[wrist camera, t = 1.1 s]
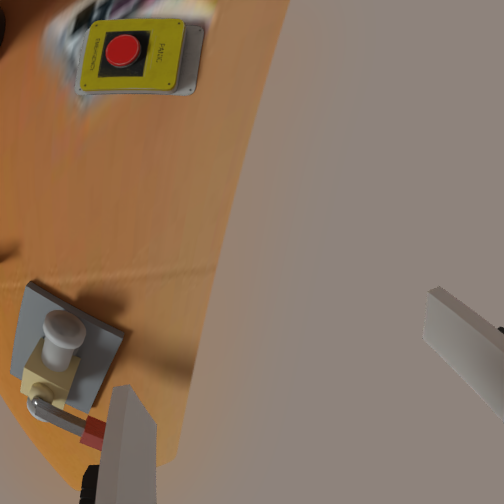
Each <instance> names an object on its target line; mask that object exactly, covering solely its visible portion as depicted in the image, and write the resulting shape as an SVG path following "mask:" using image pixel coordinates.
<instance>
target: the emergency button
mask: <svg viewBox="0 0 504 504" xmlns="http://www.w3.org/2000/svg"><path fill="white" fill-rule="evenodd" d="M203 36H204V30H203V29H202V28H201V27H199V26H194V25H185V23H184V22H183V21H182V20H180V19H165V18H138V19H114V20H101V21H96V22H94V23H93V24H92V25H91V27H90V28H89V29H88V30H87V31H86V33H85V35H84V40H83V44H82V49H81V54H80V59H79V65H78V70H77V76H76V83H75V92H76V93H77V94H78V95H99V94H160V95H181V96H186V95H190V94H192V93H193V92H194V90H195V87H196V80H197V73H198V67H199V60H200V54H201V48H202V42H203Z"/></svg>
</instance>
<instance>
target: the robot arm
mask: <svg viewBox="0 0 504 504" xmlns="http://www.w3.org/2000/svg"><path fill="white" fill-rule="evenodd" d="M4 31H5V15H4V12H3V10H2V9H1V7H0V46H1V43H2V40H3V36H4ZM423 340H424V341H425V342H427V344H429V345H430V346H431V347H432V348H433V349H434V350H435V351H436V352H437V353H438V354H439V355H440V356H441V357H442V358H443V359H444V360H445V361H446V362H447V363H448V364H449V365H450V366H451V367H452V368H453V369H454V370H455V372H456V373H457V374H458V375H460V377H462V379H463V380H464V381H465V382H466V383H467V384H468V385H469V386H470V387H471V388H472V389H473V390H474V391H475V392H476V393H477V394H478V395H479V397H480V398H481V399H482V400H483V401H484V402H485V403H486V404H487V405H488V406H489V407H490V408H491V409H492V410H493V412H494V413H495V414H496V415H497V416H498V417H499V418H500V419H501V420H502V422H503V423H504V328H503V327H499V328H498V329H496V328H495V327H494V326H493V325H491V324H490V323H489V322H487V321H486V320H485V319H483V318H482V317H481V316H480V315H478V314H477V313H476V312H474V311H473V310H472V309H470V308H469V307H468V306H466V305H465V304H463V303H462V302H461V301H459V300H458V299H457V298H455V297H454V296H452V295H451V294H450V293H448V292H447V291H446V290H444V289H443V288H441V287H440V286H439V287H437V288H434V289H432V290H430V291H428V293H427V303H426V313H425V322H424V331H423ZM156 432H157V424H156V423H155V421H154V420H153V419H152V417H151V416H150V414H149V413H148V412H147V410H146V409H145V407H144V406H143V404H142V403H141V401H140V400H139V398H138V397H137V395H136V394H135V392H134V391H133V389H132V388H131V386H130V384H129V385H124V386H118V387H113V392H112V396H111V401H110V406H109V411H108V417H107V422H106V428H105V434H104V439H103V446H102V452H101V459H100V465H89V466H88V468H87V470H86V472H85V474H84V475H83V480H82V487H81V488H82V490H81V494H80V498H81V500H80V502H79V504H156Z"/></svg>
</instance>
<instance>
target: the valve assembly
mask: <svg viewBox="0 0 504 504" xmlns="http://www.w3.org/2000/svg"><path fill="white" fill-rule="evenodd" d="M123 337H124V332H122V331H120V330H118V329H116V328H114V327H112V326H110V325H108V324H106V323H104V322H102V321H100V320H98V319H96V318H94V317H92V316H90V315H88V314H86V313H85V312H83V311H81V310H79V309H77V308H75V307H73V306H72V305H70V304H68V303H66V302H64V301H63V300H61V299H59V298H57V297H56V296H54V295H52V294H51V293H49V292H47V291H45V290H44V289H42V288H40V287H39V286H37V285H35V284H34V283H32V282H31V281H30V282H29V283H28V284H27V285H26V287H25V291H24V296H23V300H22V304H21V309H20V314H19V319H18V324H17V329H16V335H15V341H14V347H13V354H12V361H11V370H10V374H12V375H14V376H15V377H17V378H19V379H20V380H22V383H21V390H20V392H21V393H23V394H25V395H27V396H28V400H27V407H28V410H29V411H30V413H31V414H32V415H33V416H34V417H35V418H36V419H38V420H40V421H43V422H48V421H46V420H44V419H42V418H40V417H38V416H36V415H35V411H36V408H35V407H34V406H33V405H32V404H31V401H32V399H33V397H34V396H38V397H40V398H42V399H43V400H44V401H45V402H47V403H49V404H51V405H53V406H55V407H57V408H59V409H61V410H63V408H64V405H65V403H66V404H68V405H70V406H72V407H74V408H76V409H78V410H81V411H83V412H85V413H87V414H88V413H89V411H90V409H91V406H92V404H93V402H94V399H95V397H96V395H97V393H98V390H99V388H100V386H101V384H102V382H103V379H104V377H105V375H106V373H107V371H108V369H109V367H110V364H111V362H112V360H113V358H114V356H115V354H116V352H117V350H118V348H119V346H120V344H121V342H122V340H123Z"/></svg>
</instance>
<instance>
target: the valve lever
mask: <svg viewBox="0 0 504 504" xmlns="http://www.w3.org/2000/svg"><path fill="white" fill-rule="evenodd" d="M31 404H32V405H33V406H34V407H35V408H36V411H35V415H36V416H38V417H40V418H42V419H44V420H46V421H48V422H50V423H52V424H54V425H56V426H58V427H60V428H62V429H65V430H67V431H69V432H71V433H74V434H76V435H78V436H81V439H80V443H82V444H85V445H87V446H90V447H92V448H95V449H98V450H100V451H102V446H103V439H104V434H105V428H106V423H105V422H103V421H100V420H98V419H96V418H93V417H91V416H89V415H88V417H87V419H86V421H85V420H83V419H81V418H78V417H76V416H74V415H72V414H70V413H67V412H65V411H63V410H61V409H59V408H57V407H55V406H53V405H51V404H49V403H47V402H45V401H44V400H43V399H42V398H40V397H38V396H34V397H33V399H32V401H31Z"/></svg>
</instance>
